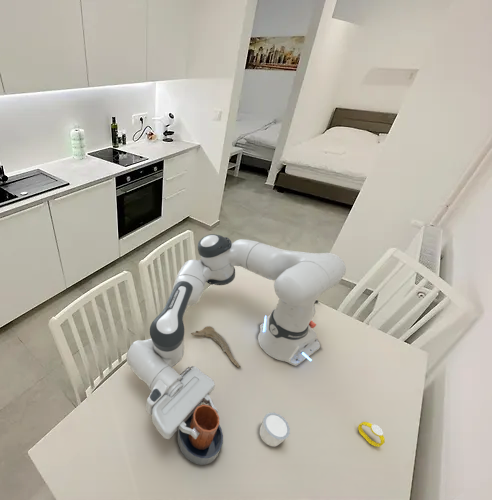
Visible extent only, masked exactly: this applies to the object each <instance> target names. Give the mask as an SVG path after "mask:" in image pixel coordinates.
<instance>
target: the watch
mask: <svg viewBox="0 0 492 500" xmlns="http://www.w3.org/2000/svg"><path fill="white" fill-rule="evenodd" d="M363 426H365V427H368V428H369V429H370V431H371V433H372V434H373V435H374V436H377V437H378V438H379V441H380V442H376V441H374V440H372V439H371V438H370V436H368V434H367V433H366V432H365V431H364V429H363ZM357 430H358V431H359V432H358V433H359V435H360V436H362V438H363V439H365V441H366V442H367V443H368V444H370V445H371V446H373V447H377V448H380V447H382V446H383V445H384V444H386V443H385V442H386V438H385V436H384V430H383V428H381V426H379V425H377V424H373V423H371V422H369V421H368V422H367V421H361V423H359V424H358V426H357Z"/></svg>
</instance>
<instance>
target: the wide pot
mask: <svg viewBox="0 0 492 500" xmlns="http://www.w3.org/2000/svg"><path fill="white" fill-rule="evenodd" d="M193 413H194V412H193ZM192 417H193V414H192V415H191V416H190V417H189V418H188V419H187V420H186V421H185V423H186V427H188V428H190V424H191V421H192ZM222 430H223V429H222V426H221V425H220V424H219V426H218V428H217V431H216V433H215V436H214V438H213V441H212V443H211V445H210V446H209V447H208V448H206V449H204V450H200V449H197V448H195V447H194V446H193V445H192V444H191V442H190V440H189V434H187V433H184V432H182V431H181V430H180V429H178V430H177V445H178V447H179V450H180V452H181V453H182V455H183V456H184V457H185V458H186V459H187V460H188V461H189V462H191V463H192V464H196V465H198V466H204V465H205V466H206V465H208V464H211V463H213V462H214V461H215V460H216V458H218V456H219V453H220V451H221V449H222V446H223V443H224V434H223V433H224V432H223V431H222Z"/></svg>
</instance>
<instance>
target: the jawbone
mask: <svg viewBox="0 0 492 500" xmlns="http://www.w3.org/2000/svg"><path fill="white" fill-rule="evenodd" d="M190 335H191V336H195V337H207V338H210V339H212V340H213V341H214V342H215V343H216V344H218V346H220V348H221V350H222V352H223V353H226V355H227V357H228V358H229V359H230V361H231V362H232V363H233V364H234V366H235V367H237V369H239V368H240V369H241V368H242V367H241V365H240V364H239V363H238V361H237V360H236V359H235V358H234V356H233V355H232V353H231V350H230V347H229V345H228V344H227V342H226V340H225V339H224V338H223V337H222V335H220V334H219V333H218V332H217V331H216V330H215V328H214V327H213V326H210V325H209V326H205V327H204V328H202V329H200V330H195V332H190Z"/></svg>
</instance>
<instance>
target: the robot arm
mask: <svg viewBox="0 0 492 500" xmlns="http://www.w3.org/2000/svg"><path fill="white" fill-rule="evenodd" d="M197 252H198V254H199V257H200V259H193V258H192V259H188V260H186V261H185V262H184V263H183V264H182V265H181V268H180V269H179V271H178V273H177V275H176V277H175V280H174V283H173V286H172V291H171V292H170V294H169V297H168V299H167V301H166V303H165V306H164V308H162V309H163V310H162V311H161V312H160V313H159V314H158V315H157V316H156V317H155V318H154V319H153V321H152V322H151V324H150V326H149V336H150V338H148V339H137V340H135V341H133V342H132V343H131V345H130V346H129V348H128V350H127V352H126V363H127V365H128V366H129V368H130V369H131V371H132V372H133V373H134V374H135V375H136V376H137V378H138V379H139V380H140V381H142V382H143V383H145V384H146V386H147V388H148V389H149V390H150V393H149V395H148V397H147V399H146V403H145V410H146V413H147V414H148V415H149V416H151V422H152V424H153V426H154V427H155V428H156V430H157V432H158V433H159V434H160V435H161V437H162V438H163V439H165V440H170V439H171V438H172V437H173V436H174V435H175V434H176V432H178V430H179V429H180V430H181V431H182V432H184V433H187V434H191V436H192V437H193V438H194V439H197V437H198V436H199V435H200V432H199V431H198V430H197V429H196V428H195V427H194V428H193V429H191V428H188V427H186V423H185V421H186V420H187V419H188V418H189V417H190V416H191V415H192V414H193V412H194V411H195V409H196V408H197V407H198V406H200V405H203V404H204V405H209V406H211V407H212V408H213V409H215V410H216V412H217V414H218V415H219V409H218V408H217V407H216V406H215V405H214V402H213V399H212V397H211V396H210V395H211V394H212V393H213V391H214V390H215V387H216V384H215V381H214V379H212V378H211V377H210V376H209V375H207V374H206V373H204V372H203V371H201V369H199V368H198V367H197V366H195V365H194V366H193V365H192V366H187V367H186V368H185V370H183V371H182V372H181V373H179V372H178V371H176V369H175V368H174V367H175V366H176V365H177V364H178V363H179V362H180V361H182V359H183V357H184V354H185V324H184V316H185V313H186V312H187V308H188V307H192V306H196V305H197V304H198V303H200V301H201V298H202V296H203V294H204V290H205V286H206V283H207V284H208V285H211V286H212V285H213V286H226V285H229V284H231V283H232V282H233V281H234V280H235V278H236V267H241V268H243V269H245V270H247V271H249V272H251V273H253V274H255V275H258V276H260V277H262V278H265V279H267V280H271V281H274V282H273V290H274V292H275V295H276V297H277V298H278V300H277V303H276V305H275V308H274V309H273V310H272V312H271V313H270V314H269V315H268V316H267V315H265V316H264V321H263V322H262V323H261V324H260V325H259V333H258V335H257V341H258V345H259V346H260V348H261V349H262V351H264V353H265V354H267V355H268V356H269V357H271V358H272V359H275V360H277V361H281V362H286V363H288V364H290V365H292V366H295V367H296V366H299V365H300V364H302V362H304V361H306V360H308V361H309V362H312V358H310V357H311V356H312V355H313V354H315V353H316V352H317V351H318V350H319V349H320V348H321V343H320V342H319V340H318V338H317V337H318V335H317V332H316V331H315V329H314V328H315V327H316V326H317V323H315V322H314V320H313V318H314V317H315V315H316V312H317V311H316V306H315V304H316V303H319V300H318V299H319V298H321V296H322V295H323V294H325V293H326V292H327V291H329V290H331V289H332V288H334V287H336V286H337V285H338V284H339V283H340V282H341V281H342V279H343V278H344V277H345V275H346V272H347V266H346V264H345V262H344V260H343V259H342V258H341V257H340V256H339V255H337V254H336V253H332V252H317V253H316V252H308V251H307V252H306V251H296V250H290V249H283V248H279V247H277V246H272V245H271V244H270V245H269V244H267V243H264V242H260V241H257V240H252V239H246V238H245V239H244V238H240V239H236V240H234V241H233V242H232V240H231V239H230V238H229V237H225V236H223V235H219V234H215V233H212V234H207V235H205V236H203V237H202V238H200V240H199V241H198V243H197Z"/></svg>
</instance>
